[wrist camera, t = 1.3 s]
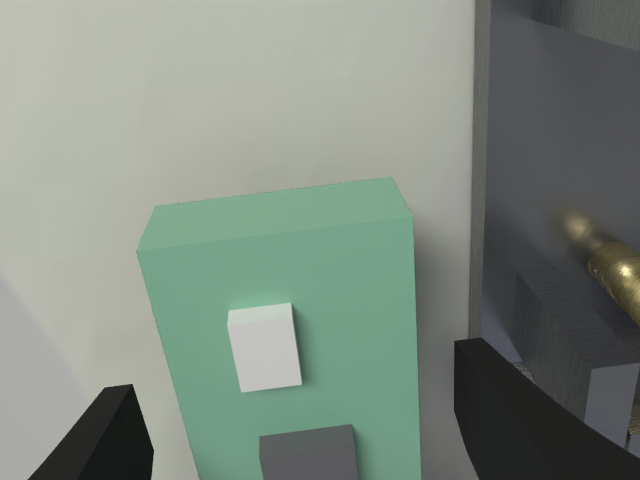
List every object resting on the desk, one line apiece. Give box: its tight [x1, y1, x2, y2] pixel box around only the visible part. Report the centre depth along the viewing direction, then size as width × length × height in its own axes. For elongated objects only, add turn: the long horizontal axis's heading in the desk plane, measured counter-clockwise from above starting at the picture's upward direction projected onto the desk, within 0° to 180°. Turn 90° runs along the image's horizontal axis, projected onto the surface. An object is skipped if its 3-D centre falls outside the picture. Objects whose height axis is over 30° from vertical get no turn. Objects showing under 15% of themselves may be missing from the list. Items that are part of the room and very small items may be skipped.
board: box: [136, 177, 421, 480], centre depth 13 cm, size 5×9×3 cm, turn 6°
